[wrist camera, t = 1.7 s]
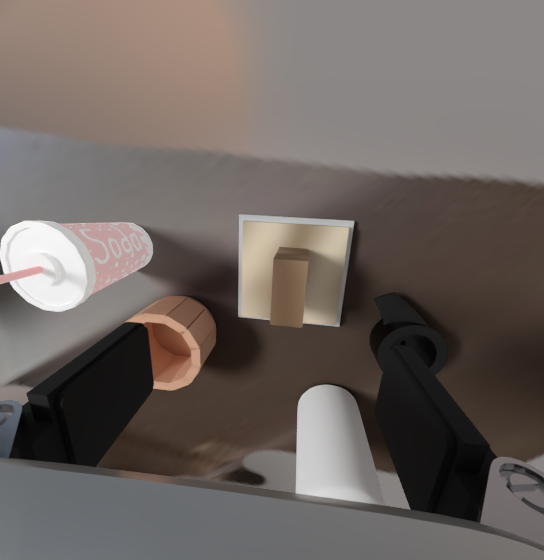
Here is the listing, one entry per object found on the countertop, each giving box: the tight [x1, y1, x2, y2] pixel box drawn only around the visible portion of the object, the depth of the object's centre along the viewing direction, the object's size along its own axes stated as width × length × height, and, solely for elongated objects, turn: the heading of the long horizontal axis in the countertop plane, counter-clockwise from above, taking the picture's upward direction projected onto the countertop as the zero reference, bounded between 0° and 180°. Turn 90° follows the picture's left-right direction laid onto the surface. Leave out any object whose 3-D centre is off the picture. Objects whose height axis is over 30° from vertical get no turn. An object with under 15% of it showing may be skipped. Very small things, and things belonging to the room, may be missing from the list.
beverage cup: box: [0, 220, 153, 312], centre depth 18 cm, size 6×6×14 cm
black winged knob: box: [370, 293, 448, 375], centre depth 24 cm, size 8×10×3 cm
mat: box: [238, 214, 354, 327], centre depth 24 cm, size 10×10×1 cm
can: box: [296, 384, 385, 506], centre depth 22 cm, size 6×6×12 cm
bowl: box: [126, 295, 216, 391], centre depth 25 cm, size 8×8×5 cm
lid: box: [241, 221, 349, 328], centre depth 21 cm, size 9×9×6 cm
